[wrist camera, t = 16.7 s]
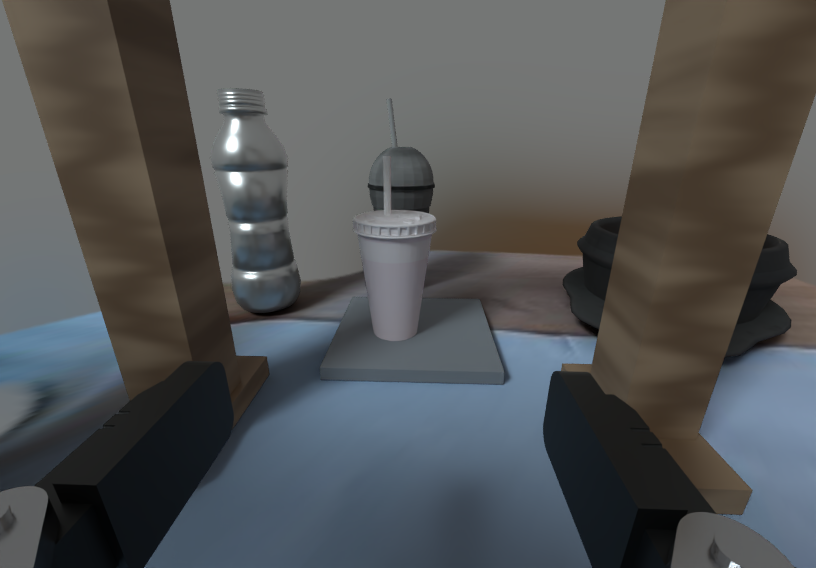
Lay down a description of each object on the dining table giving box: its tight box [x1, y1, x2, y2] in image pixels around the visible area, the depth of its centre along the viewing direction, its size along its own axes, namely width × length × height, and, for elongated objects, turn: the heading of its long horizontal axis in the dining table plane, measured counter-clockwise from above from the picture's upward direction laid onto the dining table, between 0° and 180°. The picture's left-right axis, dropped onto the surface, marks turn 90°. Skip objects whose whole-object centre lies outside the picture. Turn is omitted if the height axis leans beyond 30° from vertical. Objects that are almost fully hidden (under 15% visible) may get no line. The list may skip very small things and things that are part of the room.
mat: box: [320, 297, 504, 384], centre depth 33 cm, size 13×13×1 cm
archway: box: [2, 0, 816, 515], centre depth 17 cm, size 34×10×30 cm, turn 87°
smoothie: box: [353, 156, 436, 341], centre depth 29 cm, size 6×6×14 cm
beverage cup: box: [368, 99, 435, 213], centre depth 41 cm, size 7×7×20 cm
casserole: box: [563, 217, 797, 357], centre depth 37 cm, size 25×19×8 cm
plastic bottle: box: [210, 88, 301, 313], centre depth 35 cm, size 6×7×20 cm
